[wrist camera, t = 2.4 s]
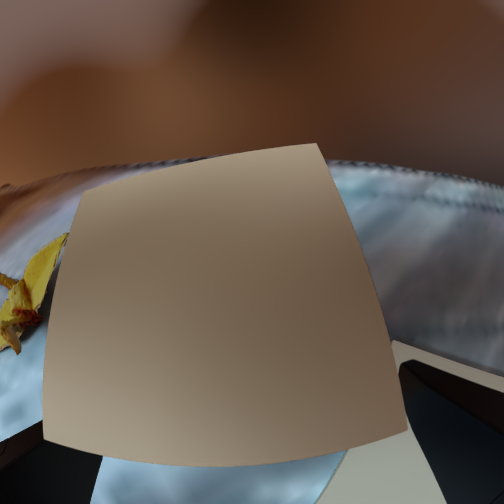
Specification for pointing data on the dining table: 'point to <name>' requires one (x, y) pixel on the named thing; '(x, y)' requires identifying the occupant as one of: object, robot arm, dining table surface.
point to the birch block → (218, 319)
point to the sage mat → (396, 452)
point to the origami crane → (27, 294)
